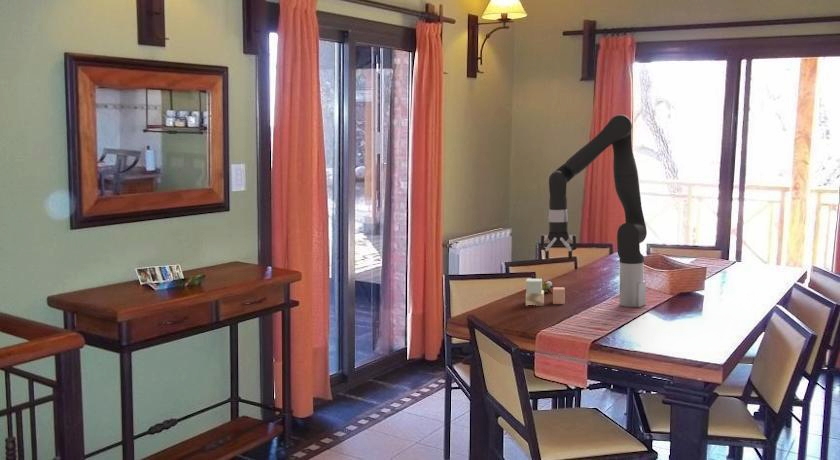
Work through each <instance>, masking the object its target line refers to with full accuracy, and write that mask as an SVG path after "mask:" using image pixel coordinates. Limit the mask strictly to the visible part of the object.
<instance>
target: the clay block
mask: <svg viewBox="0 0 840 460" xmlns="http://www.w3.org/2000/svg"><path fill="white" fill-rule="evenodd" d="M565 290H566V288H565V287H561V286H559V287H557V286H554V287H553V286H552V304H553V305H565V301H566V300H565V298H566V297H565V294H566V291H565Z"/></svg>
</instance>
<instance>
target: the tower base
mask: <svg viewBox="0 0 840 460" xmlns="http://www.w3.org/2000/svg"><path fill="white" fill-rule="evenodd" d="M544 304H545V292H544V290H542V293H541V294H529V293H526V292H525V306H528V305H534V306H535V305H536V306H539V307H540V306H544Z"/></svg>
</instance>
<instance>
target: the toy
mask: <svg viewBox="0 0 840 460" xmlns="http://www.w3.org/2000/svg"><path fill="white" fill-rule="evenodd" d="M540 279H542V290H544V293H545V292H546V293H548V292H549V293H550V294H552V295H553V291H551V290H550V289H551V288H552V289H553V286H554V283H553V282H552V281H549V280H547V281H545V278H543V277H541V278H540Z"/></svg>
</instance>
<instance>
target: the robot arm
mask: <svg viewBox="0 0 840 460" xmlns="http://www.w3.org/2000/svg"><path fill="white" fill-rule="evenodd" d="M632 123H633V122H632V121H631V119H630V118H629V117H628V116H627V115H625V114H616V115H614V116H612V117H611V118H610V120H609V121H608V122H607V124H606V125H605V126H603V128H602V129H601V131H600V132H599V133H598V134H597V135H596V136H594V137H593V138H592V139H591V140H590V141H589V142H588V143H587V144H585V145H584V146H583V147H581V148H580V149H579V150H577V151H576V152H575V153H574V154H573V155H571V157H569V158H568V159H567V160H566V161H565V162H564V163H563V164H562V165H560V166H559V167H558V168H556V169H555V170H554V171H553V172H552V173H551V174H550V175H549V176H548V177H549V178H548V189H549V191H548V192H549V201H548V202H549V205H548V206H549V212H548V234H541V235H540V250H542V251H544V254H545V257H544V258H545V260H546V261H550V251H549V250H550V248H551V247H552V246H560V247H561V246H565V248H566V249H567V250H568V259H567V260H568V261H571V260H572V259H573V251H574V250H575V251H576V250H577V237H576V236H577V235H576V234H575V233H573V234H571V235H570V234H569V225H568V224H569V222H568V221H569V219H568V217H569V216H568V215H569V214H568V198H567V185H568V183H569V182H570V181H571V180H572V179H573V178H574V177H575V176H576V175H579V174H580V173H582V172H583V170H585V169H586V168H587V167H589V165H591V164H592V163H593V162H594V161H595V160H596V159H597V158H598V157H599V156H600V155H601V154H602V153H603V152H604V151H605V150H606V149H607V148H609V147H610V146H612V150H613V151H612V152H613V153H612V154H613V163H612V164H613V165H612V167H613V180H614V188H615V192H616V194H617V198H618V199H619V201H620V203H621V205H622V207H623V211H624V216H625V217H624V218H625V220H624V221H625V223H622V224H620V226H619V227H618V228H617V234H616V241H617V242H616V247H617V255H618V258H619V305H620V306H622V307H627V308H640V307H643V306H646V303H647V301H646V299H647V297H646V295H647V291H646V290H647V289H646V286H647V284H646V283H647V282H646V281H645V279H644V278H645V277H644V269H645V268H644V267H645V265H644V261H645V259H644V254H642V253H641V247H640V244H641V243H643V242H644V241H645V239H646V238H647V234H648V233H647V225H646V221H645V217H644V212H643V207H642V199H641V198H642V197H641V192H640V191H641V190H640V181H639V174H638V173H639V172H638V169H637V168H638V167H637V162H636V159H635V156H634V152H633V143H632V142H633V140H632V137H633V136H632V130H633V124H632ZM547 239H548V240H549V243H548V244H547V246H545V241H546V240H547ZM569 239H570V240H571V241H572V246H571V245H570V244H569V242H568V240H569Z"/></svg>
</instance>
